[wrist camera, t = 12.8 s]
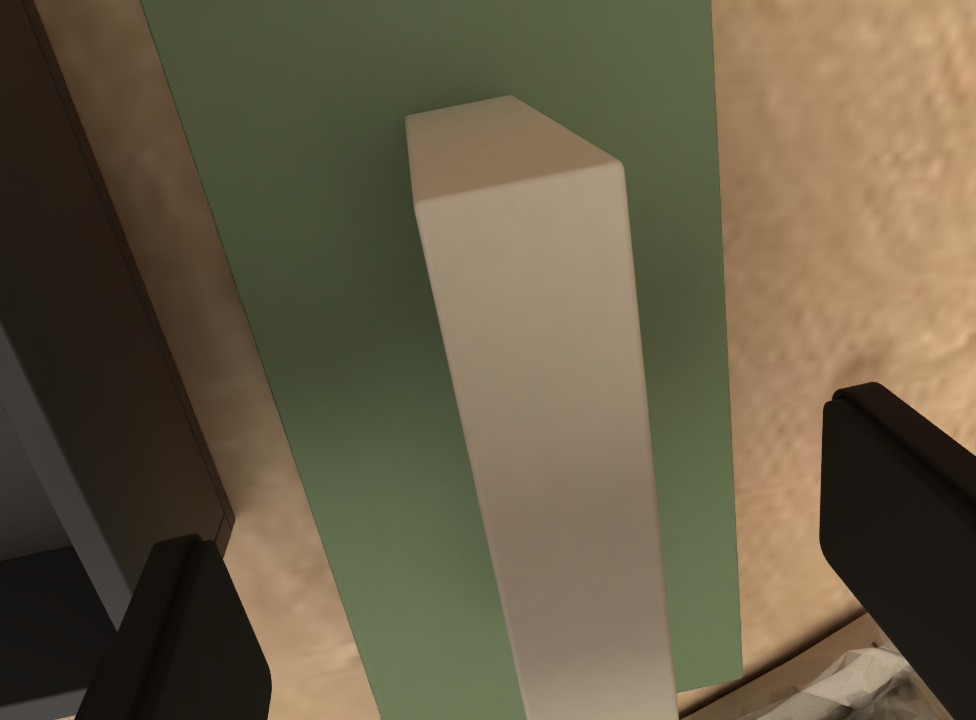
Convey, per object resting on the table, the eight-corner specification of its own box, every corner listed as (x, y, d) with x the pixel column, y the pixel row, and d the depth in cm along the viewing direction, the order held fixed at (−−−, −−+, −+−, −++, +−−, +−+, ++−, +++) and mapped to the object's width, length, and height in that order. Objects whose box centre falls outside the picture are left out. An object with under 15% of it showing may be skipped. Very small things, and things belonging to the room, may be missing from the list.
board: (403, 115, 15) (412, 202, 8) (513, 93, 15) (625, 159, 8) (510, 613, 20) (575, 942, 13) (590, 596, 20) (699, 913, 13)
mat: (118, -108, 14) (99, -118, 13) (681, -215, 14) (700, -231, 13) (393, 728, 23) (393, 757, 22) (730, 653, 23) (743, 679, 22)
